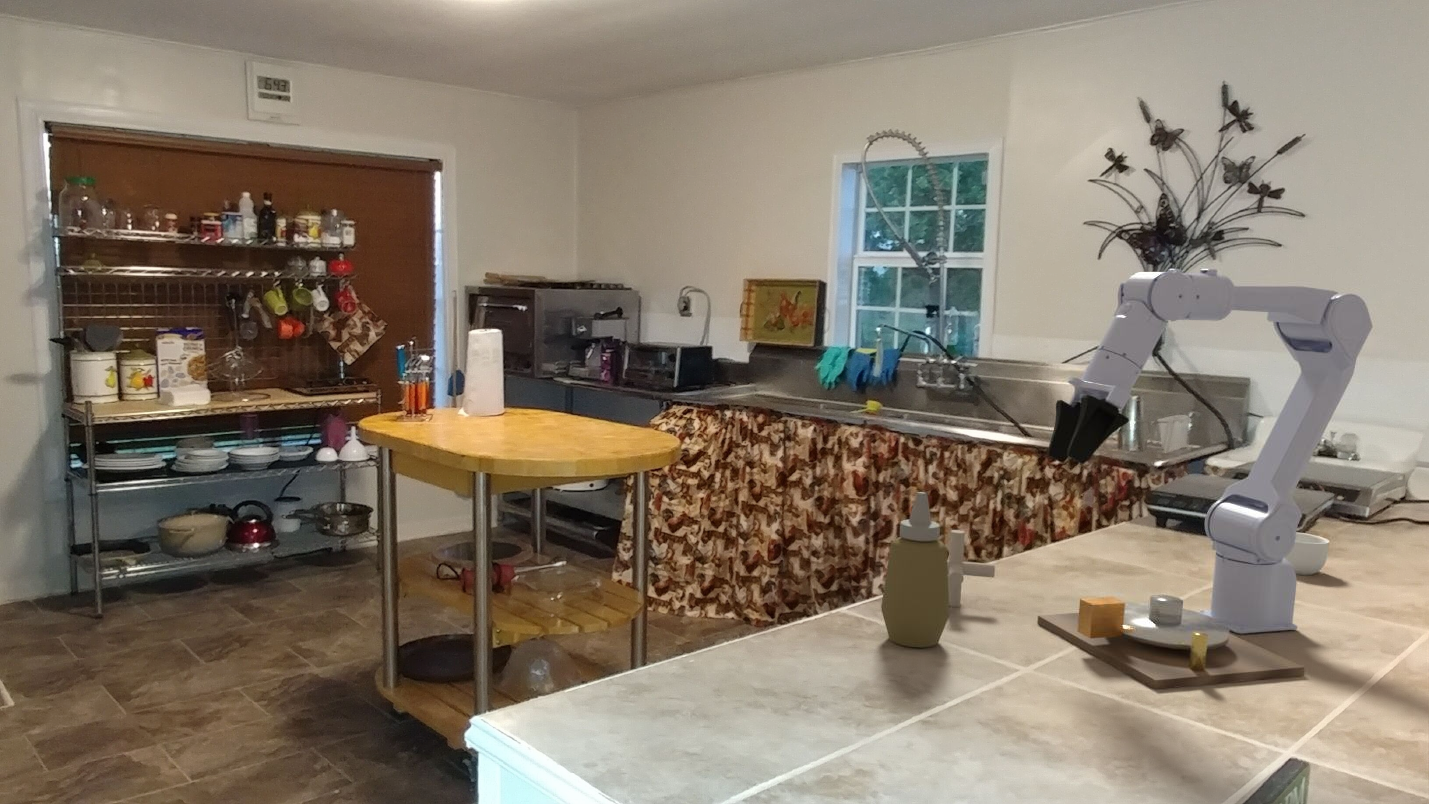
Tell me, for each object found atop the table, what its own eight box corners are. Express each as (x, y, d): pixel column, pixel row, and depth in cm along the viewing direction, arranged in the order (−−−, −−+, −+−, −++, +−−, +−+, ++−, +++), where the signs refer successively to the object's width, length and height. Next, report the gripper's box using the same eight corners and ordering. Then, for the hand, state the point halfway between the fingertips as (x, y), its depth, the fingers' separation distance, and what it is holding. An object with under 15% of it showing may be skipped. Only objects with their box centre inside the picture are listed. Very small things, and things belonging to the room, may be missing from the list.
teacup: (1332, 572, 163) (1336, 538, 162) (1317, 581, 158) (1321, 546, 157) (1263, 558, 170) (1267, 526, 170) (1247, 566, 165) (1250, 533, 164)
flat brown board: (1168, 614, 139) (1169, 599, 138) (1303, 675, 118) (1305, 658, 117) (1037, 623, 133) (1038, 607, 133) (1154, 689, 112) (1156, 671, 112)
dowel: (1197, 665, 117) (1200, 631, 116) (1208, 670, 115) (1211, 635, 115) (1185, 666, 116) (1188, 632, 116) (1196, 672, 115) (1199, 636, 114)
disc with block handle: (1172, 607, 134) (1174, 577, 133) (1256, 645, 120) (1259, 611, 120) (1048, 616, 129) (1051, 584, 128) (1122, 656, 115) (1125, 621, 115)
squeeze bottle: (907, 656, 119) (916, 502, 117) (865, 634, 126) (873, 488, 124) (962, 647, 123) (971, 497, 121) (918, 626, 130) (927, 484, 128)
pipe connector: (993, 619, 134) (998, 543, 133) (914, 612, 136) (919, 537, 135) (989, 597, 143) (994, 526, 142) (915, 590, 145) (919, 520, 144)
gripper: (1069, 350, 133) (1018, 442, 133) (1111, 339, 119) (1053, 443, 119) (1118, 377, 133) (1067, 470, 133) (1165, 369, 119) (1108, 473, 118)
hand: (1064, 459), depth 126 cm, fingers open, 7 cm apart
